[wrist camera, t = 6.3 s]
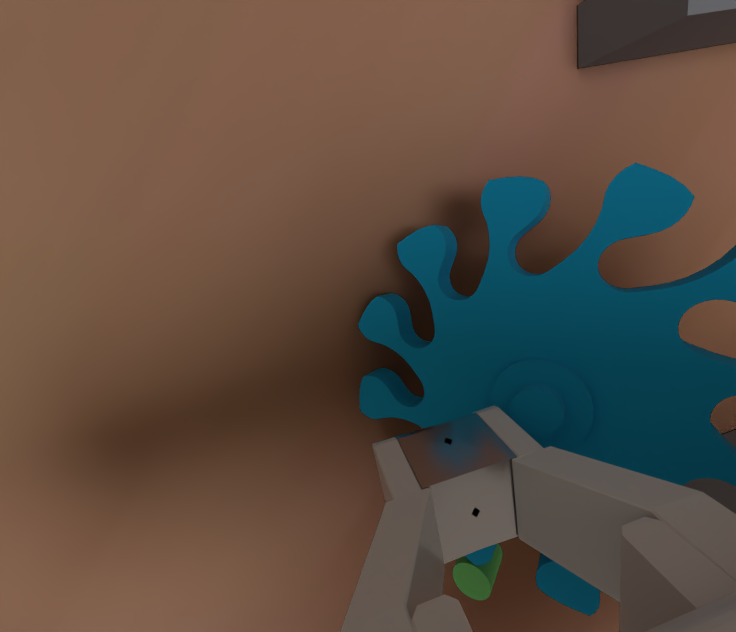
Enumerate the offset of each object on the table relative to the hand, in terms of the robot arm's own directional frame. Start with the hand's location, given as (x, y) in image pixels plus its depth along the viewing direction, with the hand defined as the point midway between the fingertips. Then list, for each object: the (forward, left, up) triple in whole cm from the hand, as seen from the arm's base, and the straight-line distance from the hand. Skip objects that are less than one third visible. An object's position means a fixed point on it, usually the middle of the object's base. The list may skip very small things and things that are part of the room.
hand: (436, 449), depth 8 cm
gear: (-3, 0, -4) cm, 5 cm away
